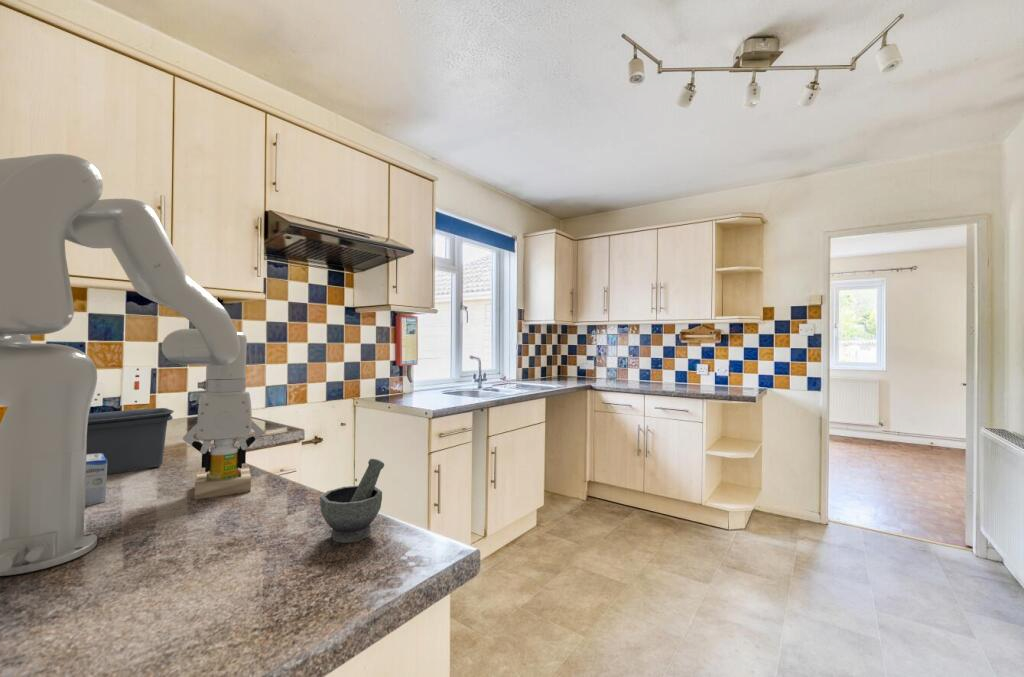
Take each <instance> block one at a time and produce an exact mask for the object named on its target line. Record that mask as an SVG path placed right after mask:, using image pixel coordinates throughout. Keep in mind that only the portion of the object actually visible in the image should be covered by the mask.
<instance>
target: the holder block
mask: <svg viewBox="0 0 1024 677" xmlns="http://www.w3.org/2000/svg"><path fill="white" fill-rule="evenodd" d="M251 487H252V475H251V471H250V467H249V466H248V467H242V468H240V469H239V468H238V477H236V478H228V479H219V480H211V481H209V471H208V472H205V471H203V472H197V473H196V479H195V483H194V500H200V499H206V498H215V497H220V496H221V497H222V496H228V495H235V493H237V494H242V492H244V493H249V492H248V491H252V488H251Z"/></svg>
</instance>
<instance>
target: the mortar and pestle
mask: <svg viewBox="0 0 1024 677" xmlns="http://www.w3.org/2000/svg"><path fill="white" fill-rule="evenodd" d="M367 463H368V466H367V467H366V470H365V472H364V473H363V476H362V478H361V479H360V482H359V484H358V485H351V486H350V485H349V486H342V487H338V488H335V489H331V490H327V491H326V492H325V493H324V494H322V495H321V496H320V499H319V500H320V501H319V502H320V504H319V505H320V511H321V515H322V517H323V519H324V521H325V523H326V524H327V525H328V526H329V527H330V528H331V529H332V530H331V535H330V536H331V537H332V538H333V539H332V538H331V537H330V538H331V539H332V540H333V541H334V542H335V541H336V543H342V544H346V543H347V544H348V543H356V542H359V541H362V540H364V538H365V539H367V538H368V537H369V536H370V534H371V523H373V521H374V520H375V518H376V517H377V516H378V514H379V512H380V510H381V506H382V500H383V491H382V490H380V489H379V488H378V487H377V486H376V485H377V482H378V479H379V475H380V474H381V471H382V469H384V467H385V463H384V462H383V461H382V460H380V459H376V458H370V459H369V460H368V462H367ZM368 535H369V536H368ZM366 537H367V538H366Z"/></svg>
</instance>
